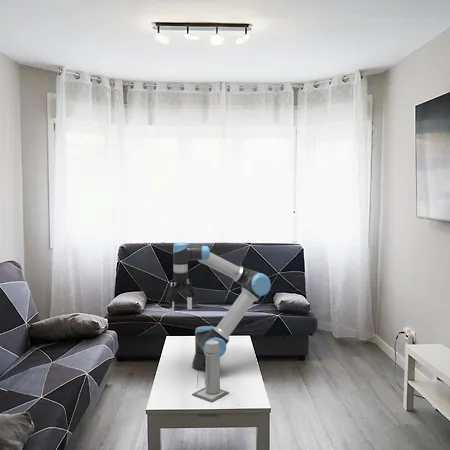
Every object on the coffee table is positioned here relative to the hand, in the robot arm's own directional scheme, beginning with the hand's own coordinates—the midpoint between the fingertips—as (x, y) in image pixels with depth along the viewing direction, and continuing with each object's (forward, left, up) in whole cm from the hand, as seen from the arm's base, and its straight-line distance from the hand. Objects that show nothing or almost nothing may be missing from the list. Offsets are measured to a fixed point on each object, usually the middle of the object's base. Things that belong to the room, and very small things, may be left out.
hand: (180, 311), depth 241 cm
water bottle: (+4, +25, -36) cm, 44 cm away
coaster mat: (+5, +25, -37) cm, 45 cm away
